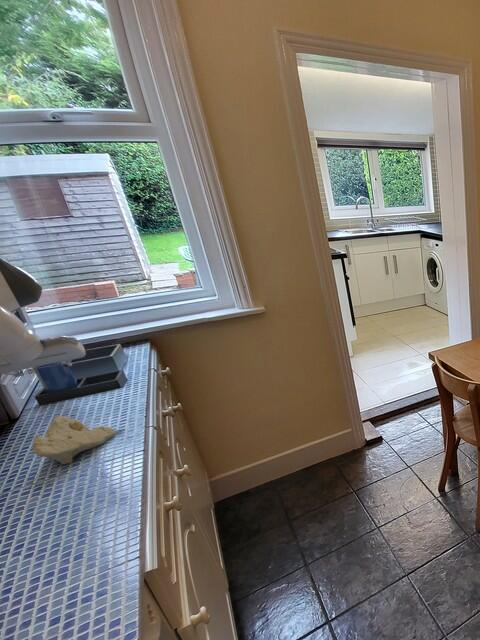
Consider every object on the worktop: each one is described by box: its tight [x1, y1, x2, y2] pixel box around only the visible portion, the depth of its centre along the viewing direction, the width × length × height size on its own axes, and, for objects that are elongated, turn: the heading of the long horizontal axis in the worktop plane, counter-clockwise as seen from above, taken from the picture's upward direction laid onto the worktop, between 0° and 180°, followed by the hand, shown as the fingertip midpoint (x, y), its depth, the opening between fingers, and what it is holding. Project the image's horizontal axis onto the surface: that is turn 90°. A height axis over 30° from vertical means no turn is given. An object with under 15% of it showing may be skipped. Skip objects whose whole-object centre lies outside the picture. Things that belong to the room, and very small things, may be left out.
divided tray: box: [34, 369, 128, 407], centre depth 123 cm, size 18×9×4 cm, turn 123°
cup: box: [32, 362, 79, 394], centre depth 120 cm, size 7×7×11 cm
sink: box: [69, 343, 128, 379], centre depth 138 cm, size 14×14×6 cm
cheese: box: [32, 415, 117, 465], centre depth 92 cm, size 15×7×15 cm
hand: (44, 369), depth 113 cm, fingers open, 8 cm apart
